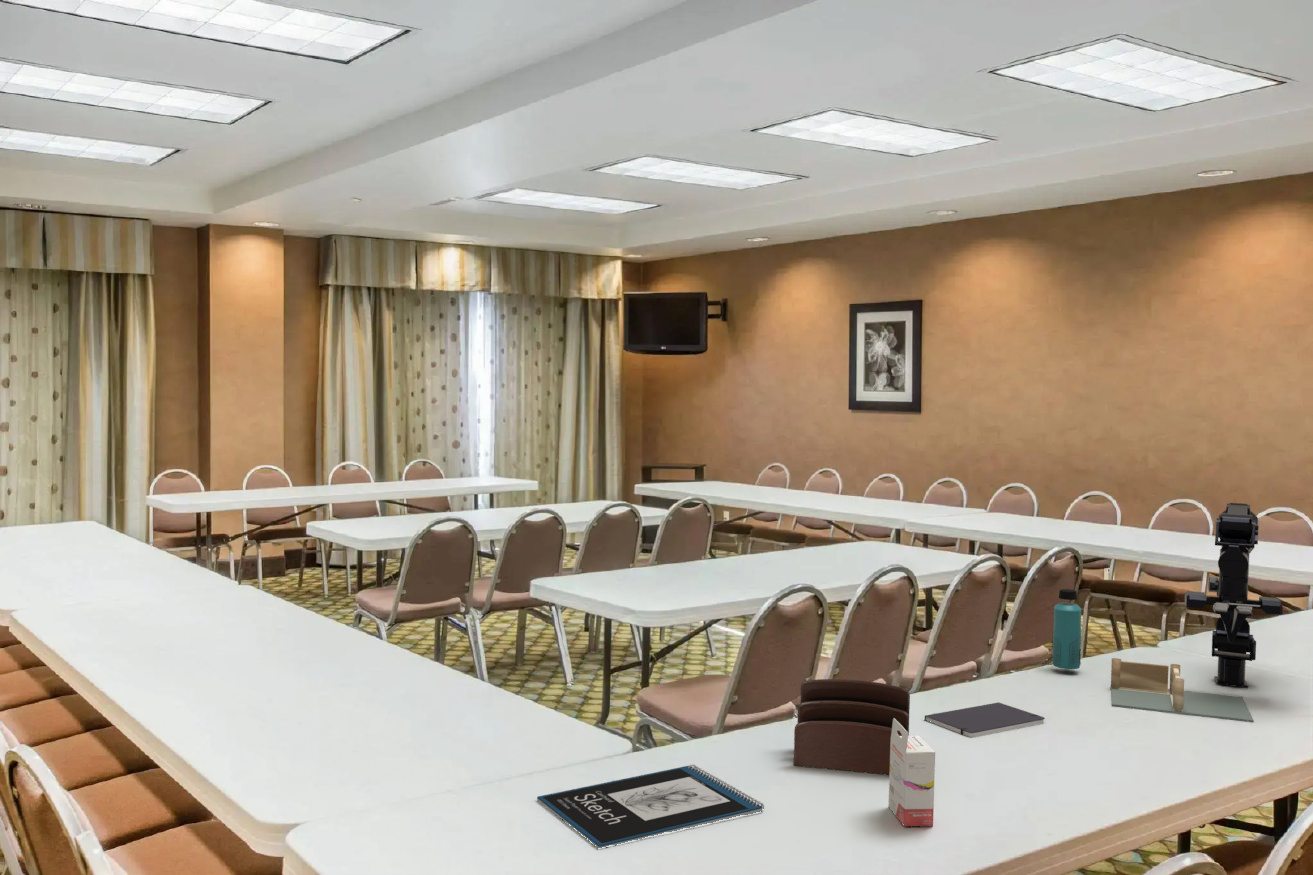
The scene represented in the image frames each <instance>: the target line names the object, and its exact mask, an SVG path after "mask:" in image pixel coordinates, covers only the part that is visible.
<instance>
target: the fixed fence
mask: <svg viewBox="0 0 1313 875" xmlns="http://www.w3.org/2000/svg"><path fill="white" fill-rule="evenodd" d="M1173 668H1177V669H1178V670H1179V673H1180V674H1181V665H1180V664H1178V663H1170V668H1169V665H1163V664H1154V663H1144V662H1136V661H1135V662H1133V661H1126V660H1125V661H1124V660H1122V659H1121V658H1116V657H1114V658H1111V668H1110V669H1111V672H1110V673H1111V674H1110V689H1111V688H1112V689H1120V687H1121V688H1131V689H1140V690H1149V691H1158V692H1168V689H1170V690H1169V694H1171V695H1172V688H1173ZM1169 670H1170V672H1169ZM1168 687H1169V688H1168Z"/></svg>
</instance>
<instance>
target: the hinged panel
mask: <svg viewBox="0 0 1313 875" xmlns="http://www.w3.org/2000/svg"><path fill="white" fill-rule="evenodd" d="M1181 677H1182V676H1181V672H1180V673H1179V670H1178V669H1177V668H1173V688H1172V695H1173V708H1174V709H1179V710H1182V709H1183V701H1184V691H1185V679H1184V678H1181Z"/></svg>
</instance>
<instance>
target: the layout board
mask: <svg viewBox="0 0 1313 875" xmlns="http://www.w3.org/2000/svg"><path fill="white" fill-rule="evenodd" d="M1169 690H1170V688H1168V692H1158V691H1149V690H1140V689H1131V688H1121V687H1120V689H1112V688H1111V687H1110V694H1111V695H1110V696H1111V707H1117V708H1124V709H1125V708H1126V709H1133V708H1134V709H1135V710H1143V711H1144V710H1145V711H1151V712H1152V711H1153V712H1161V713H1169V714H1178V715H1179V714H1180V715H1186V716H1196V717H1203V718H1204V717H1206V718H1213V719H1222V720H1229V721H1230V720H1231V721H1240V722H1247V721H1249V722H1248V723H1254V721H1255V720H1254V718H1253V715H1252V714H1251V712H1250V710H1249V707H1248V706H1247V703H1246V701H1245V699H1244V697H1243V696H1237V695H1229V694H1227V695H1226V694H1219V693H1209V692H1201V691H1200V692H1199V691H1192V690H1184V701H1183V709H1182V710H1179V709H1174V708H1173V695H1171V694H1169Z"/></svg>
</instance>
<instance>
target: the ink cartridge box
mask: <svg viewBox="0 0 1313 875" xmlns="http://www.w3.org/2000/svg"><path fill="white" fill-rule="evenodd" d="M897 731H900V733H901V734H902V736H899V735H898V734H897ZM935 768H936V751H935V750H934V749H933V748H932V747H931V746H930V745H929V744H928V743H927V742H926V741H925V740H923V738H922V737H921V736H920V735H909V736H908V732H907V731H906V730H905V729H904V727H903V726H902V725H901V724H900V723H899V722H898V721H897V720H896V719H895V718H894V719H893V724H892V733H891V743H890V775H888V777H889V778H888V779H889V781H888V808H889V807H890V808H889V810H890V811H891V810H892V811H893V812H892V811H891V812H892V813H893V814H894V816H895V815H896V816H897V817H896V816H895V817H896V818H897V819H898V820H900V821H901V822H900V821H899V822H900V824H902V823H903V824H904V826H905V827H906V826H911V827H912V826H920V827H933V826H934V811H935V810H934V809H935V808H934V806H935V771H936V770H935ZM903 824H902V825H903ZM904 826H903V827H904ZM905 827H904V828H905Z"/></svg>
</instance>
